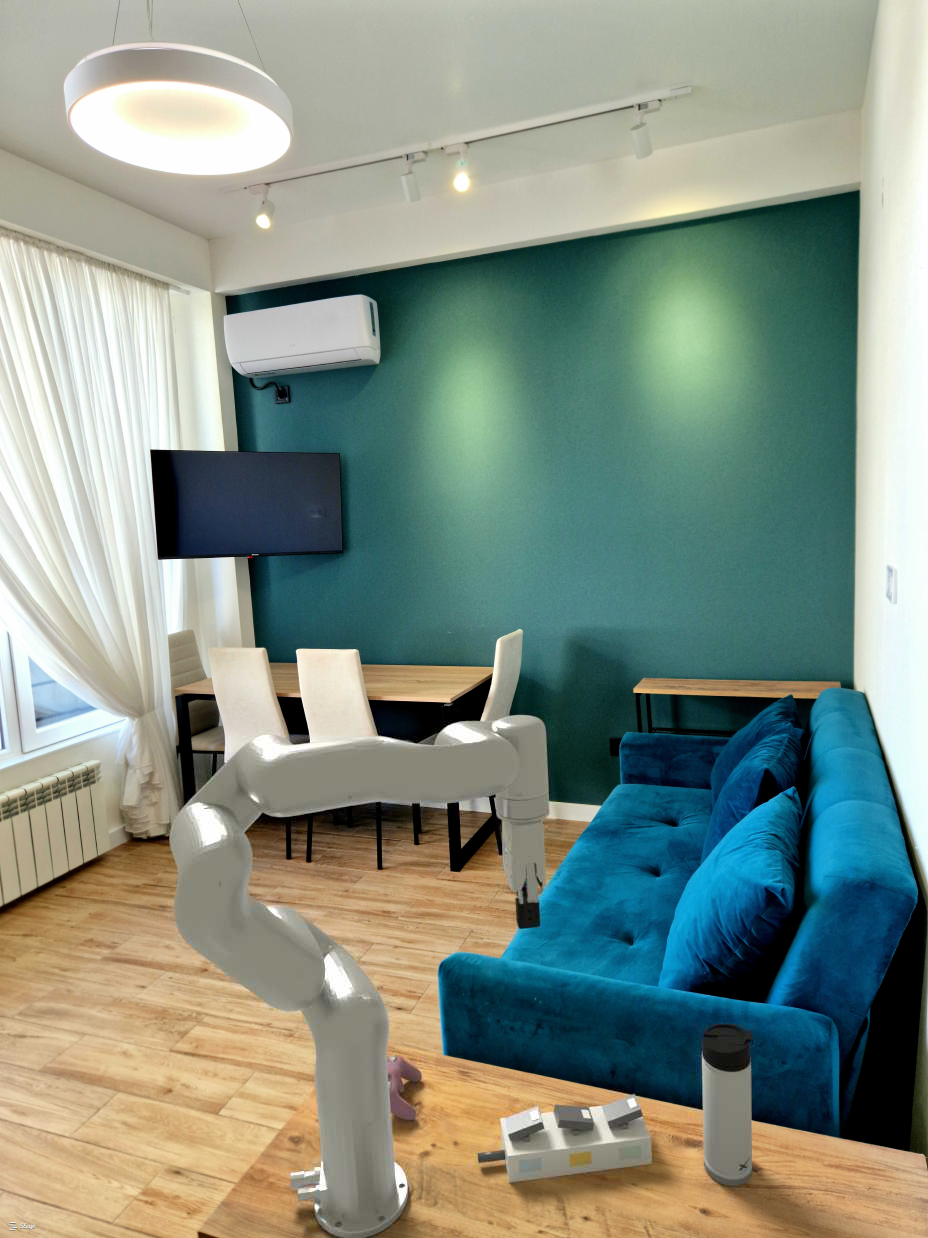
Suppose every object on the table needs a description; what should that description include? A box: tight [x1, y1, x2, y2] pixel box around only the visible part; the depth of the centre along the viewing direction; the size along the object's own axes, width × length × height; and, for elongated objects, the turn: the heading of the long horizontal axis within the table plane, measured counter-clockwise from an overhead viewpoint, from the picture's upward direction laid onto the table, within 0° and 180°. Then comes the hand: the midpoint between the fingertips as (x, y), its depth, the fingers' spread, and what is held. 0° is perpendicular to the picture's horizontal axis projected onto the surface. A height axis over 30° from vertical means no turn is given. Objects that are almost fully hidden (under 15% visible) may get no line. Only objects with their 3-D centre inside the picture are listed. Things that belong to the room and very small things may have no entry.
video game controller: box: [387, 1054, 423, 1122], centre depth 127 cm, size 10×5×7 cm, turn 177°
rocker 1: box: [504, 1105, 545, 1141], centre depth 114 cm, size 5×3×1 cm, turn 95°
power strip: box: [476, 1104, 653, 1184], centre depth 114 cm, size 24×7×5 cm, turn 96°
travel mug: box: [701, 1023, 754, 1187], centre depth 109 cm, size 6×7×20 cm
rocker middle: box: [553, 1104, 594, 1131], centre depth 114 cm, size 5×3×1 cm, turn 96°
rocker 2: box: [601, 1093, 644, 1129], centre depth 115 cm, size 5×3×1 cm, turn 95°
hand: (528, 925), depth 117 cm, fingers closed
